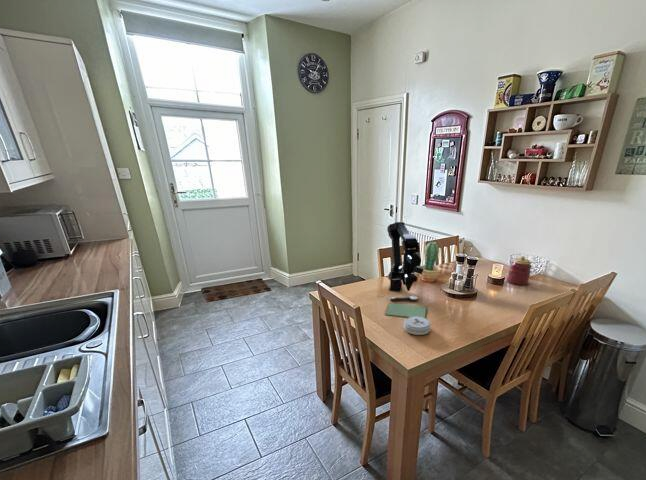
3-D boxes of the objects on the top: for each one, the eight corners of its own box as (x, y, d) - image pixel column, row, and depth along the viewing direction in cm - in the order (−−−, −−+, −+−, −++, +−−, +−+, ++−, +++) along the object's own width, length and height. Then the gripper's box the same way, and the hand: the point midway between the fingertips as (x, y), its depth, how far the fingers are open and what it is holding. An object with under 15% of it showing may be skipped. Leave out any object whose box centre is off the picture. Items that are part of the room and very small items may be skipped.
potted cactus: (444, 279, 219) (449, 242, 209) (432, 285, 209) (436, 246, 198) (424, 273, 228) (428, 238, 218) (412, 279, 218) (415, 242, 208)
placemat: (385, 314, 168) (385, 314, 168) (389, 303, 181) (389, 303, 181) (424, 319, 165) (424, 318, 164) (426, 307, 177) (426, 307, 177)
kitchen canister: (531, 285, 211) (537, 259, 204) (511, 285, 212) (517, 258, 204) (523, 278, 223) (528, 253, 216) (504, 278, 223) (509, 253, 216)
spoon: (390, 302, 182) (391, 299, 182) (389, 299, 187) (389, 296, 186) (418, 301, 184) (418, 298, 184) (416, 298, 189) (416, 295, 188)
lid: (434, 335, 150) (435, 325, 148) (408, 337, 148) (409, 327, 145) (424, 322, 161) (425, 313, 159) (399, 324, 159) (400, 315, 157)
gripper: (428, 265, 169) (425, 293, 175) (418, 255, 186) (416, 281, 192) (407, 266, 167) (404, 294, 174) (399, 255, 184) (397, 281, 191)
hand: (406, 287), depth 183 cm, fingers open, 9 cm apart
